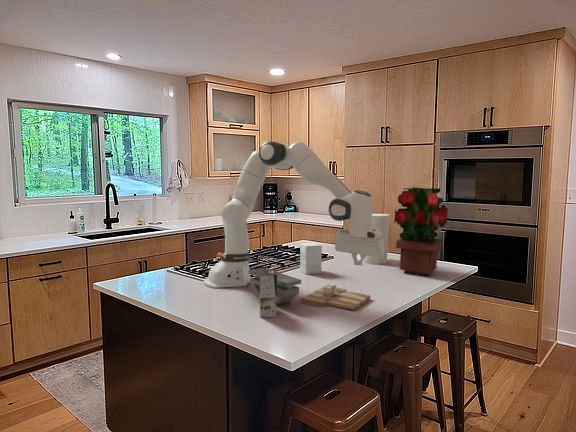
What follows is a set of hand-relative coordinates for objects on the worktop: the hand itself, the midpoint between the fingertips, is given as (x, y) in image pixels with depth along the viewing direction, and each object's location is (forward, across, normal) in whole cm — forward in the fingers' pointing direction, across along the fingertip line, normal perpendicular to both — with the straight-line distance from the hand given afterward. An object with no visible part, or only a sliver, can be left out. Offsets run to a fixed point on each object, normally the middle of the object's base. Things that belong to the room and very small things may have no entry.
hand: (358, 264), depth 179 cm
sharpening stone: (+17, -30, -16) cm, 38 cm away
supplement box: (+17, -40, +35) cm, 56 cm away
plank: (+16, -3, 0) cm, 17 cm away
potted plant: (+16, +7, +69) cm, 71 cm away
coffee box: (+17, -23, -30) cm, 42 cm away
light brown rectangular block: (+17, -15, 0) cm, 22 cm away
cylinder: (+16, -24, +81) cm, 86 cm away
